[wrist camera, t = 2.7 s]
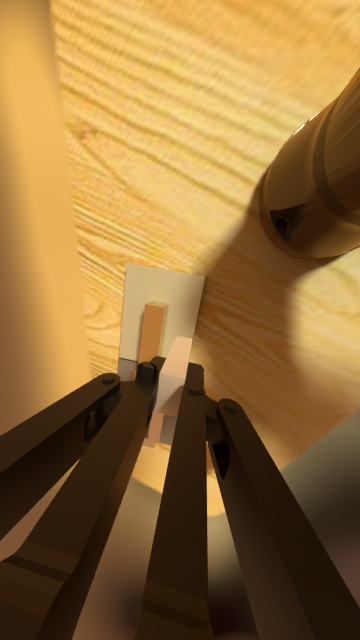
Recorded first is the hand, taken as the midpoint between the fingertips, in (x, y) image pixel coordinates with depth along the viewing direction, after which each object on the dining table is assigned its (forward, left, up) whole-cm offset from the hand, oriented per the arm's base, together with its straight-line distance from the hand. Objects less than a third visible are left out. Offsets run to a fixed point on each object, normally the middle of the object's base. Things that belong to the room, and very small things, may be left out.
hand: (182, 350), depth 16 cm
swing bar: (+5, +4, -11) cm, 13 cm away
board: (+5, +9, -12) cm, 16 cm away
